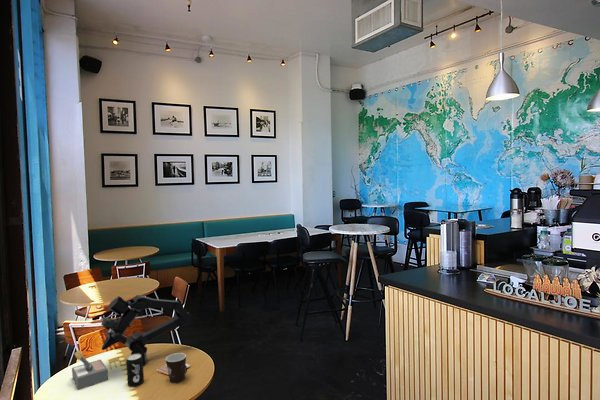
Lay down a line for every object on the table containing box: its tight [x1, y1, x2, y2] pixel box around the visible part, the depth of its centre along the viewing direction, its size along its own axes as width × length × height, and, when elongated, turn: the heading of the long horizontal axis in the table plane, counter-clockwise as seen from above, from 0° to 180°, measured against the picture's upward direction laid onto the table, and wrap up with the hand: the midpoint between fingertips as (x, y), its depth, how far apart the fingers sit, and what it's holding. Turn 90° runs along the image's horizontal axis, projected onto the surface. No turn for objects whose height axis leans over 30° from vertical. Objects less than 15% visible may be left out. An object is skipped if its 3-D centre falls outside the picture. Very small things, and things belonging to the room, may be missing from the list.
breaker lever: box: [73, 349, 93, 370], centre depth 180 cm, size 2×5×9 cm
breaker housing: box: [71, 359, 109, 391], centre depth 182 cm, size 12×13×5 cm
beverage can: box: [125, 354, 145, 387], centre depth 177 cm, size 7×7×12 cm
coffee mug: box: [165, 352, 188, 384], centre depth 177 cm, size 12×9×10 cm
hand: (102, 349), depth 185 cm, fingers closed
